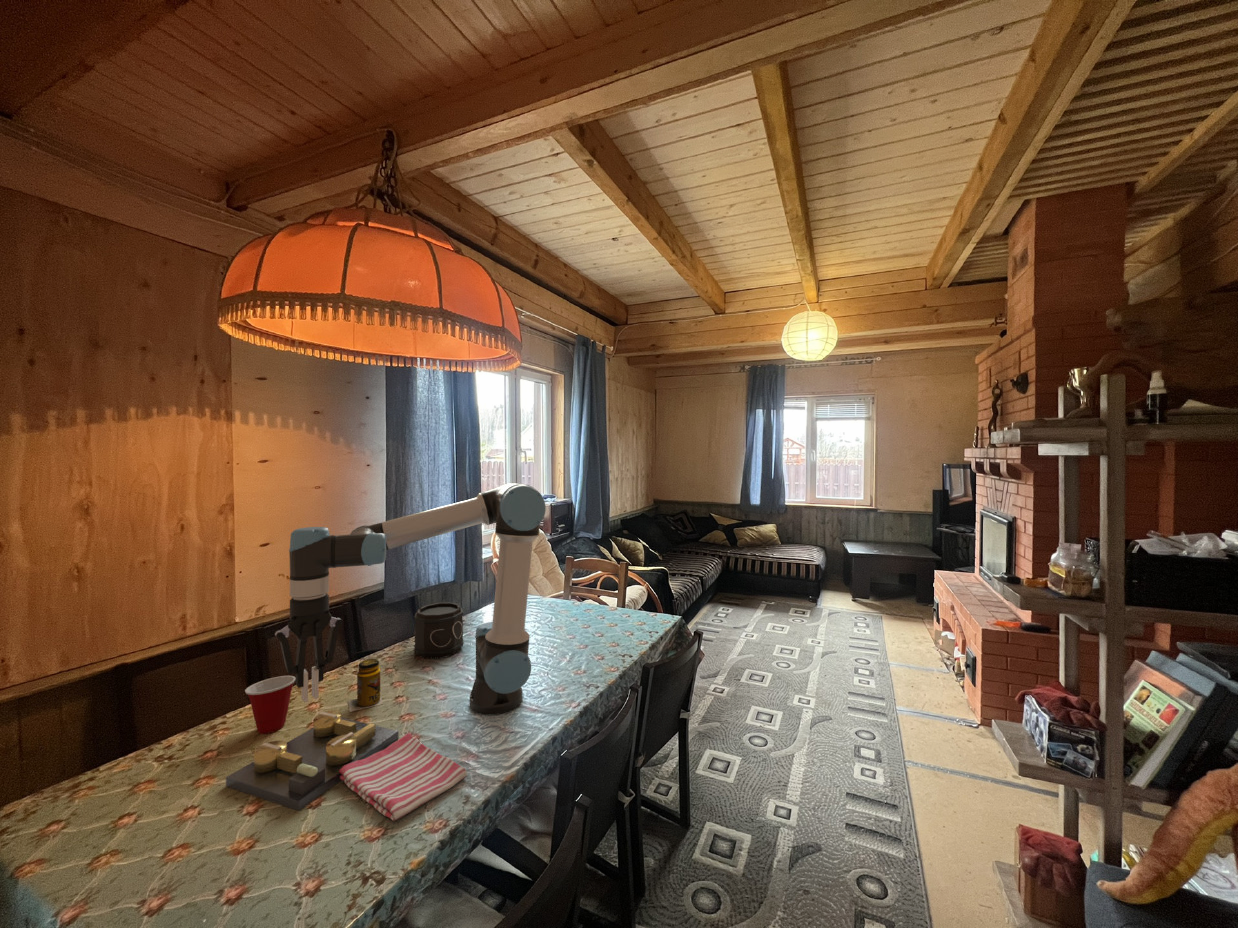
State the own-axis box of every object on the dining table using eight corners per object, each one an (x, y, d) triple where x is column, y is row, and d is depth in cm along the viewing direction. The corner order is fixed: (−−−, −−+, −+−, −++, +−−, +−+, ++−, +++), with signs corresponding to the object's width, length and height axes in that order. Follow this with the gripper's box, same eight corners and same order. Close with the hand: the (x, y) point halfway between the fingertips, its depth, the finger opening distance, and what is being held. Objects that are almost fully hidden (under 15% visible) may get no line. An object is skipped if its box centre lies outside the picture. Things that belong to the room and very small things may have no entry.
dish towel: (409, 743, 117) (409, 729, 117) (468, 779, 104) (468, 763, 104) (336, 781, 103) (336, 765, 103) (394, 828, 89) (395, 810, 89)
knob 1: (247, 769, 103) (247, 750, 103) (274, 753, 109) (274, 735, 109) (285, 780, 100) (285, 761, 100) (311, 763, 105) (311, 745, 105)
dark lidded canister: (475, 646, 178) (475, 605, 178) (434, 664, 163) (434, 619, 163) (445, 637, 188) (445, 598, 188) (403, 652, 173) (403, 610, 173)
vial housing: (326, 779, 100) (326, 761, 100) (304, 795, 96) (304, 775, 96) (309, 774, 102) (309, 756, 102) (287, 789, 97) (286, 770, 97)
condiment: (383, 704, 136) (383, 663, 136) (349, 712, 131) (349, 670, 131) (380, 694, 142) (380, 654, 142) (347, 701, 137) (347, 661, 137)
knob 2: (307, 734, 117) (307, 718, 117) (329, 721, 122) (329, 706, 122) (343, 743, 113) (343, 726, 113) (363, 730, 119) (363, 714, 118)
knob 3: (339, 767, 104) (339, 749, 104) (319, 762, 106) (319, 744, 106) (382, 738, 115) (382, 721, 115) (363, 733, 117) (363, 717, 117)
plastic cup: (285, 712, 131) (285, 670, 131) (303, 724, 125) (303, 679, 125) (237, 731, 122) (237, 685, 122) (255, 744, 116) (255, 696, 116)
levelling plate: (398, 738, 119) (398, 731, 119) (299, 810, 94) (299, 801, 94) (334, 723, 126) (334, 715, 126) (226, 786, 101) (226, 777, 101)
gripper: (340, 586, 115) (340, 682, 115) (267, 598, 104) (267, 703, 104) (349, 592, 109) (350, 692, 109) (274, 605, 99) (274, 716, 99)
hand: (309, 697), depth 107 cm, fingers closed
